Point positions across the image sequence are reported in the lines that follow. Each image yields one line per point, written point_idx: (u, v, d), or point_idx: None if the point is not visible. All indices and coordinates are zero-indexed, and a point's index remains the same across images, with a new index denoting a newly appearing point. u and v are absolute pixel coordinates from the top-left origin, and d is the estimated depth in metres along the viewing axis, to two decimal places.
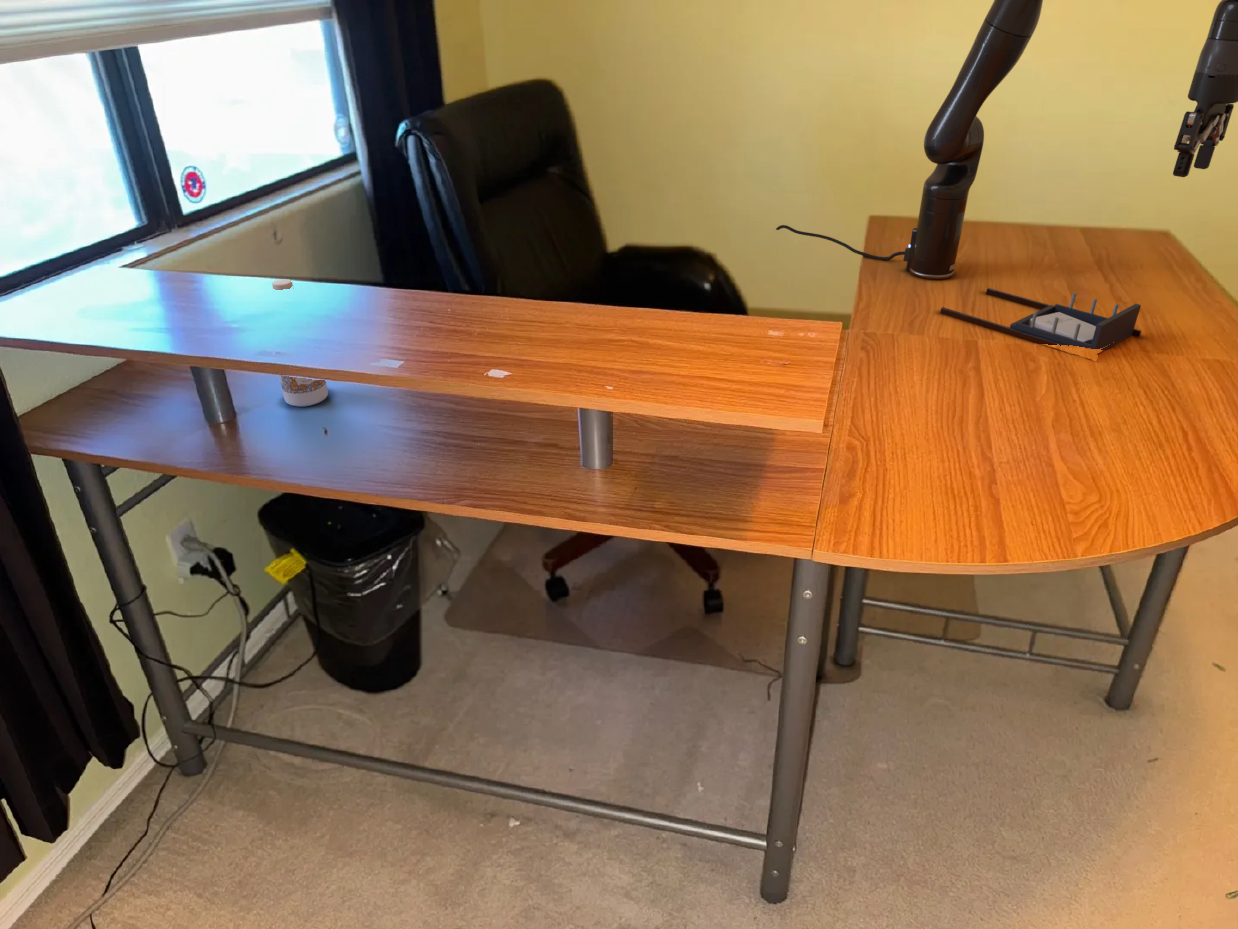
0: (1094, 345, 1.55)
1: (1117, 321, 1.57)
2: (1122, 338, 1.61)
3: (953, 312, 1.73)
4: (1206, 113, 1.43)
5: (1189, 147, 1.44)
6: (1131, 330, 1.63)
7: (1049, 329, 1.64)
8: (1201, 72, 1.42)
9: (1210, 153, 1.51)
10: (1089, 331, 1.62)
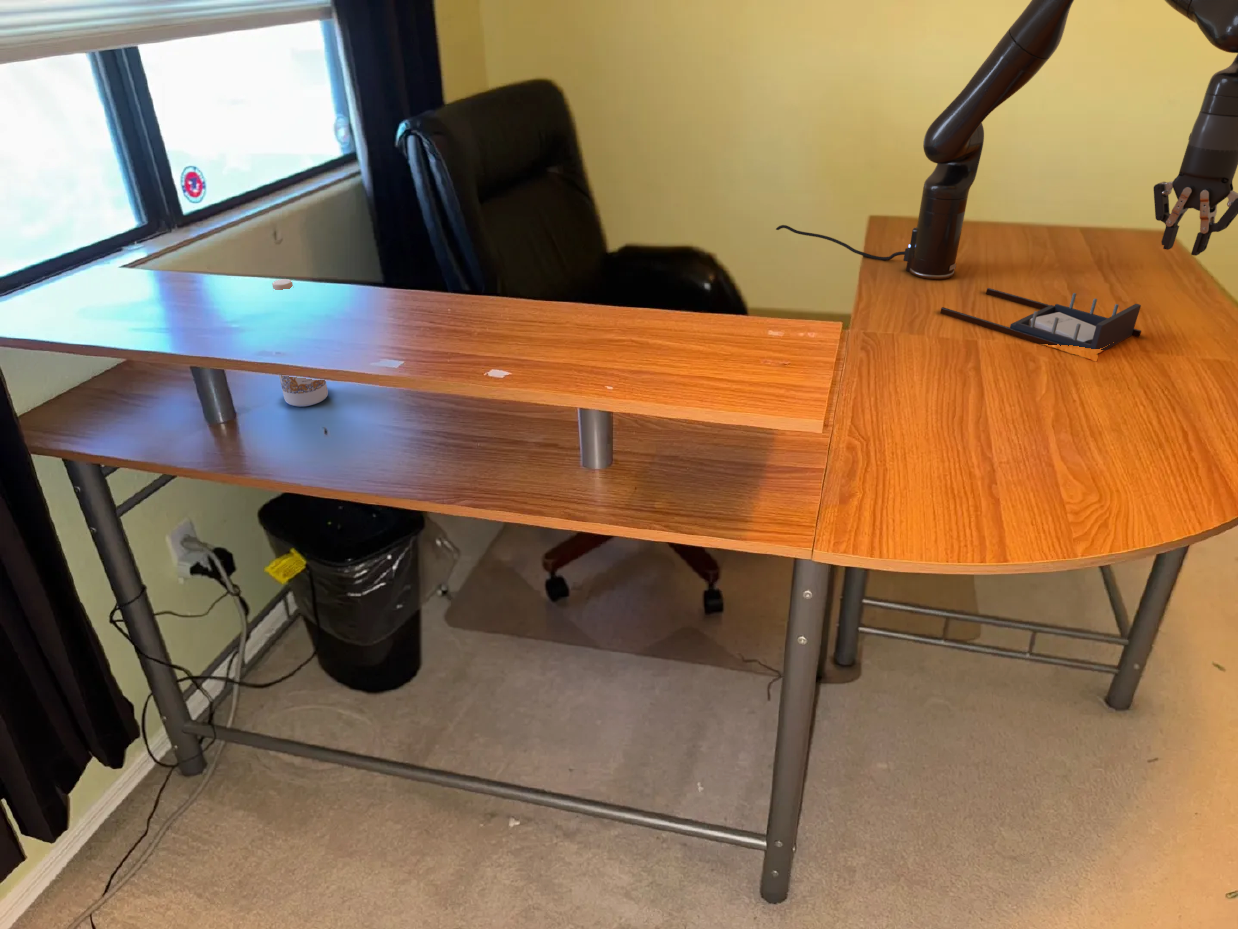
0: (1094, 345, 1.55)
1: (1117, 321, 1.57)
2: (1122, 338, 1.61)
3: (953, 312, 1.73)
4: (1173, 182, 1.43)
5: (1155, 216, 1.46)
6: (1131, 330, 1.63)
7: (1049, 329, 1.64)
8: None
9: (1196, 239, 1.43)
10: (1089, 331, 1.62)
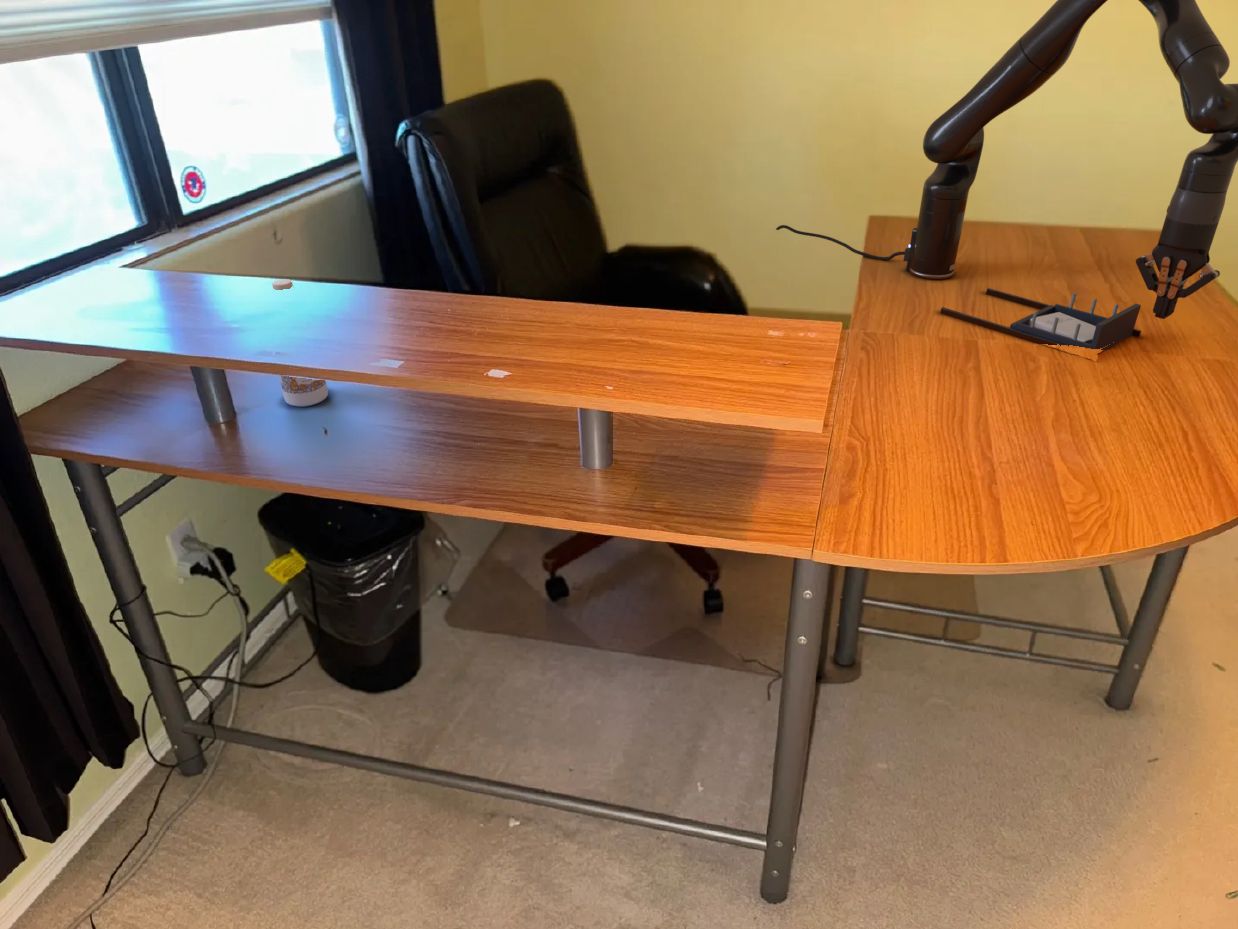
0: (1094, 345, 1.55)
1: (1117, 321, 1.57)
2: (1122, 338, 1.61)
3: (953, 312, 1.73)
4: (1152, 253, 1.49)
5: (1147, 287, 1.51)
6: (1131, 330, 1.63)
7: (1049, 329, 1.64)
8: None
9: (1163, 303, 1.50)
10: (1089, 331, 1.62)
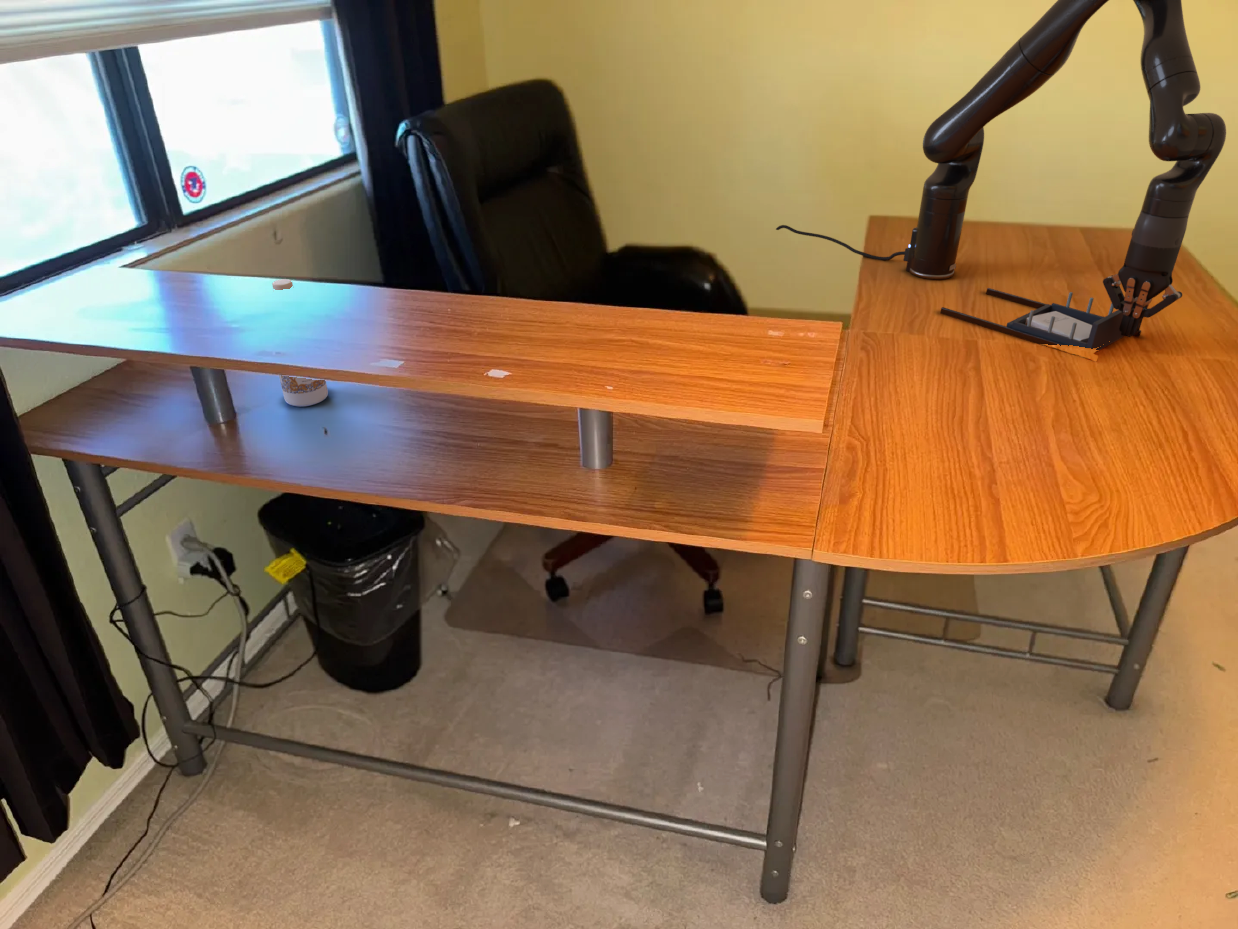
0: (1090, 344, 1.55)
1: (1113, 320, 1.57)
2: (1118, 337, 1.62)
3: (953, 312, 1.73)
4: (1118, 274, 1.54)
5: None
6: None
7: (1045, 328, 1.65)
8: None
9: (1129, 322, 1.56)
10: (1085, 330, 1.62)
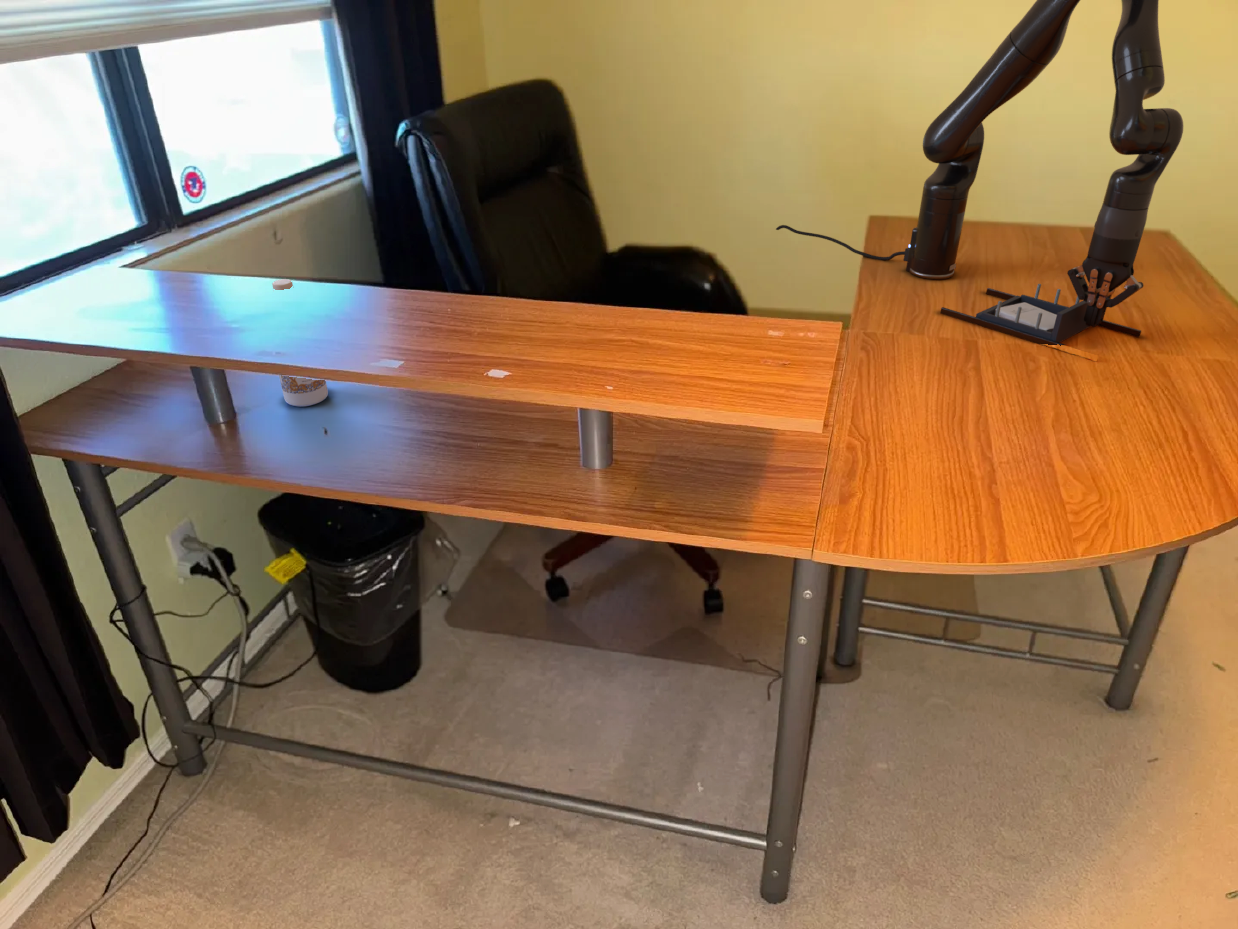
0: (1055, 333, 1.60)
1: (1078, 310, 1.61)
2: (1084, 327, 1.66)
3: (953, 312, 1.73)
4: (1082, 265, 1.58)
5: (1078, 297, 1.61)
6: None
7: (1013, 318, 1.69)
8: None
9: (1093, 312, 1.60)
10: (1052, 320, 1.67)
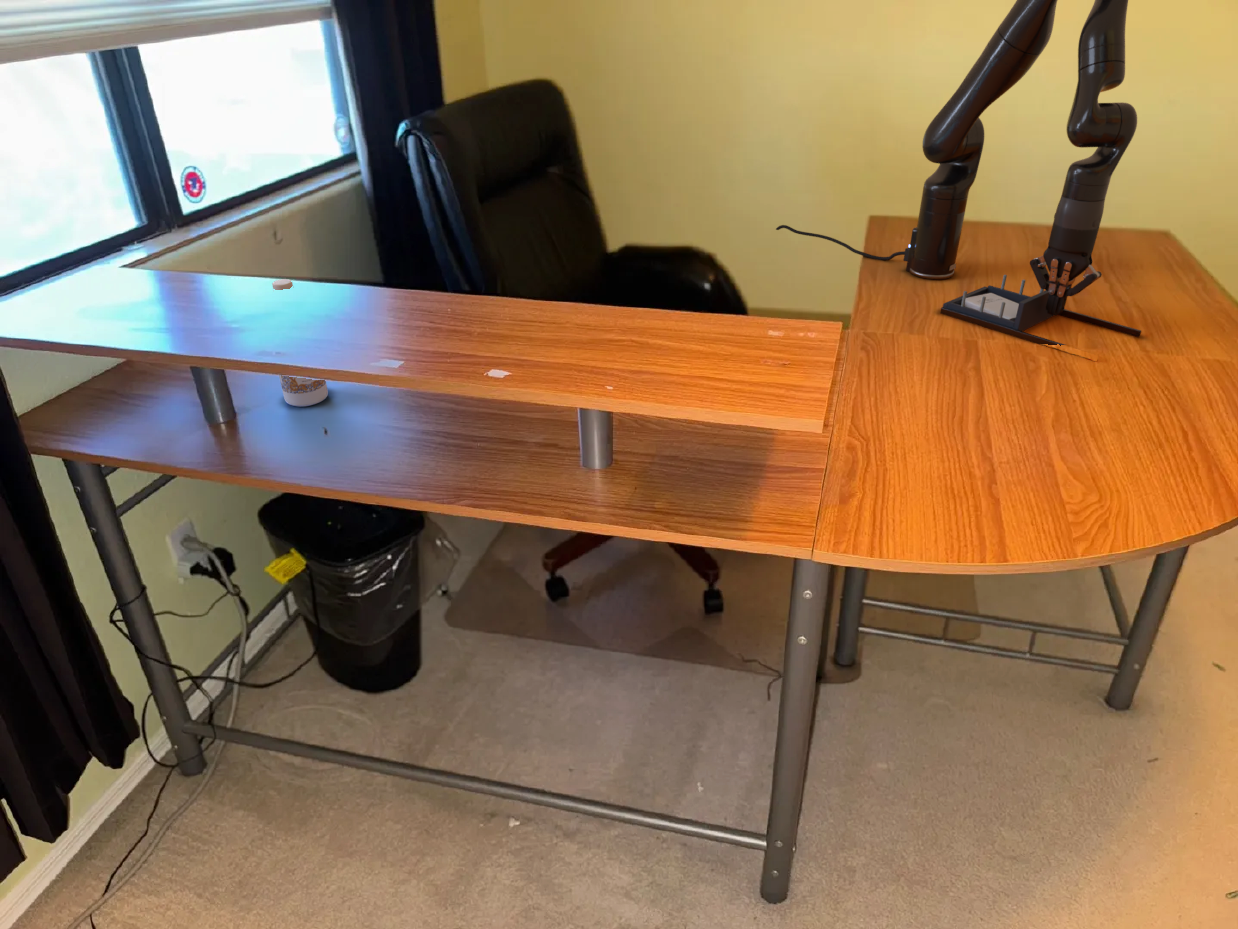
0: (1017, 322, 1.64)
1: (1040, 300, 1.66)
2: (1047, 316, 1.71)
3: (953, 312, 1.73)
4: (1043, 255, 1.63)
5: (1040, 286, 1.66)
6: None
7: (979, 308, 1.74)
8: None
9: (1054, 301, 1.65)
10: (1016, 309, 1.72)
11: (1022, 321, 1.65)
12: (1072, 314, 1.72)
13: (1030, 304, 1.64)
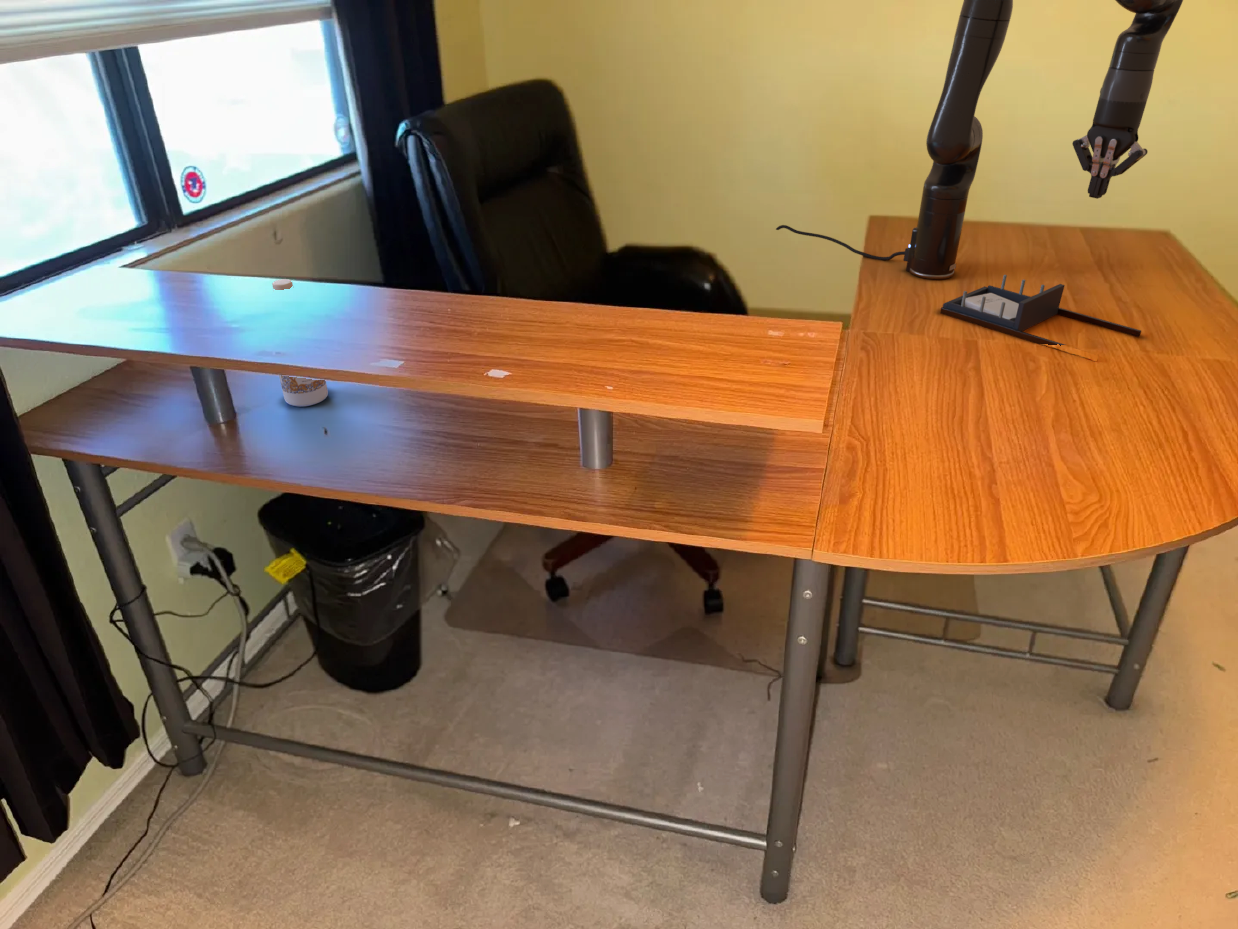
0: (1017, 322, 1.64)
1: (1040, 300, 1.66)
2: (1047, 316, 1.71)
3: (953, 312, 1.73)
4: (1087, 134, 1.59)
5: (1082, 168, 1.61)
6: (1056, 309, 1.72)
7: (979, 308, 1.74)
8: None
9: (1096, 183, 1.60)
10: (1016, 309, 1.72)
11: (1022, 321, 1.65)
12: (1072, 314, 1.72)
13: (1030, 304, 1.64)
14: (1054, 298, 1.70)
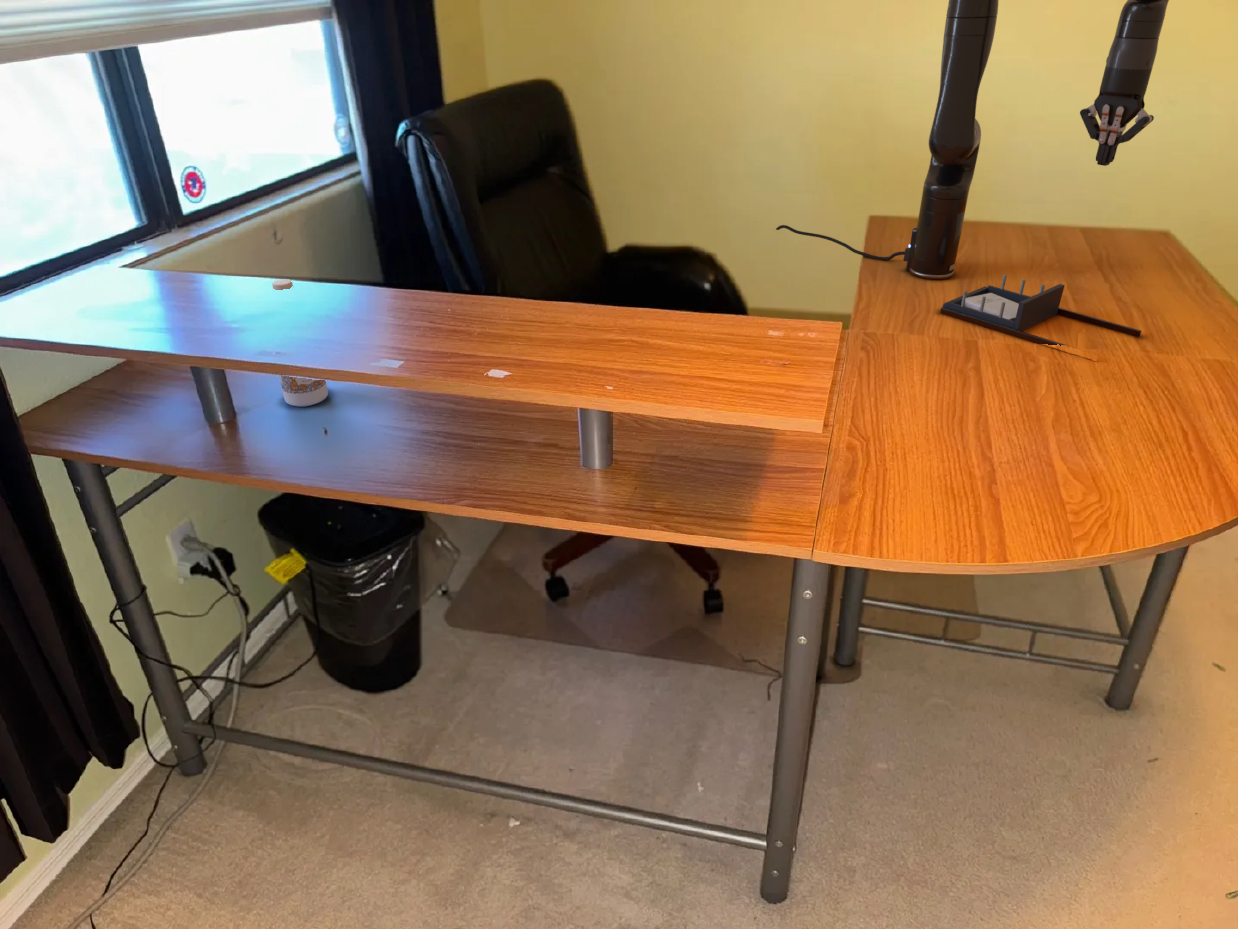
0: (1017, 322, 1.64)
1: (1040, 300, 1.66)
2: (1047, 316, 1.71)
3: (953, 312, 1.73)
4: (1094, 103, 1.63)
5: (1090, 136, 1.66)
6: (1056, 309, 1.72)
7: (979, 308, 1.74)
8: None
9: (1104, 150, 1.65)
10: (1016, 309, 1.72)
11: (1022, 321, 1.65)
12: (1072, 314, 1.72)
13: (1030, 304, 1.64)
14: (1054, 298, 1.70)
